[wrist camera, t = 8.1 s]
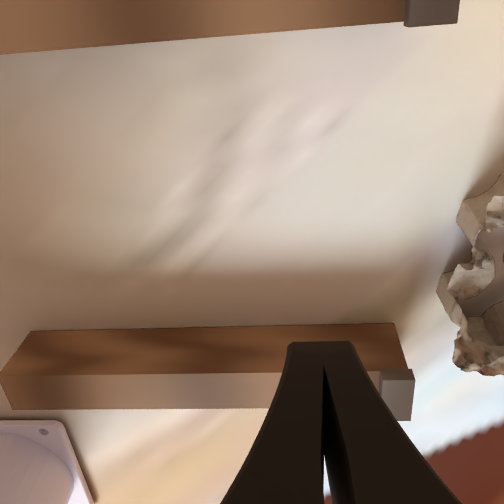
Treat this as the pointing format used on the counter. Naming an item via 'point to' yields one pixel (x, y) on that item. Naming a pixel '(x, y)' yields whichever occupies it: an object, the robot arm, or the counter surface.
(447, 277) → the egg carton
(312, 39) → the counter surface
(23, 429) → the robot arm
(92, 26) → the chute
